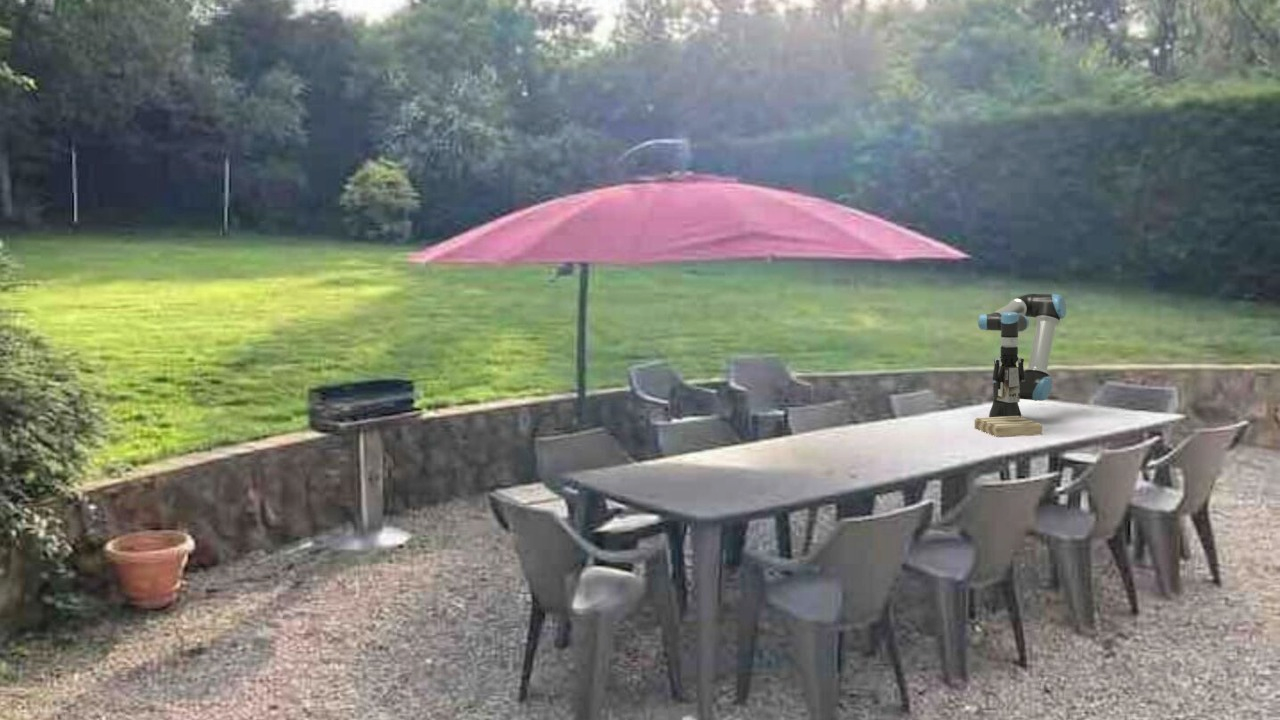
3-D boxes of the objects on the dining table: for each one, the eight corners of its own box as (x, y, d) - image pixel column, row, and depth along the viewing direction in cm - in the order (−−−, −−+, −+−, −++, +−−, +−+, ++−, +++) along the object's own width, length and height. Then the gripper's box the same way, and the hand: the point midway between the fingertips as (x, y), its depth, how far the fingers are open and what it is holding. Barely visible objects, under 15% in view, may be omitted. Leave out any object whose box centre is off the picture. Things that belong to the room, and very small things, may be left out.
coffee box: (1020, 402, 506) (1021, 367, 504) (1008, 403, 504) (1009, 367, 502) (1007, 399, 514) (1008, 364, 512) (996, 400, 512) (996, 365, 510)
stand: (974, 428, 520) (974, 417, 519) (1018, 426, 523) (1018, 415, 523) (996, 437, 498) (996, 426, 498) (1041, 434, 502) (1042, 423, 501)
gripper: (992, 347, 501) (991, 397, 503) (1033, 346, 504) (1032, 396, 506) (985, 346, 508) (984, 395, 511) (1025, 344, 511) (1024, 393, 514)
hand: (1008, 395), depth 509 cm, fingers closed on coffee box, 7 cm apart
